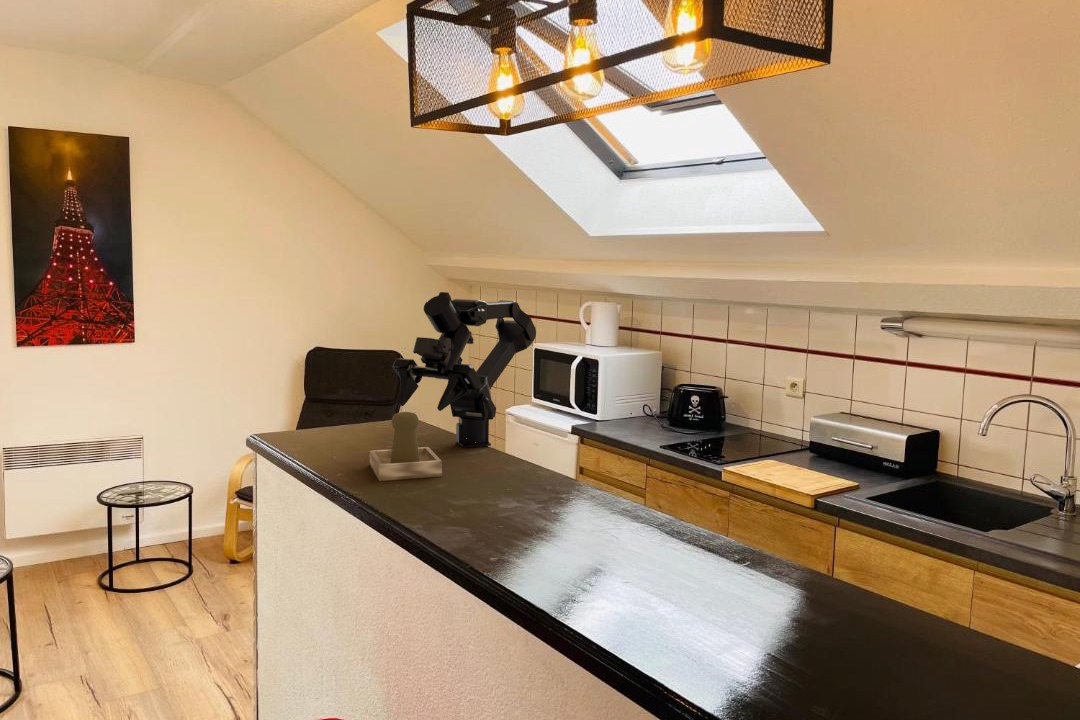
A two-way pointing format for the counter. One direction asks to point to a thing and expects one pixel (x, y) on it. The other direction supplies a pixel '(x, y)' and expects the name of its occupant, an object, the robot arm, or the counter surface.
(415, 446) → the olive pepper mill
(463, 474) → the counter surface
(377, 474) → the birch tray
